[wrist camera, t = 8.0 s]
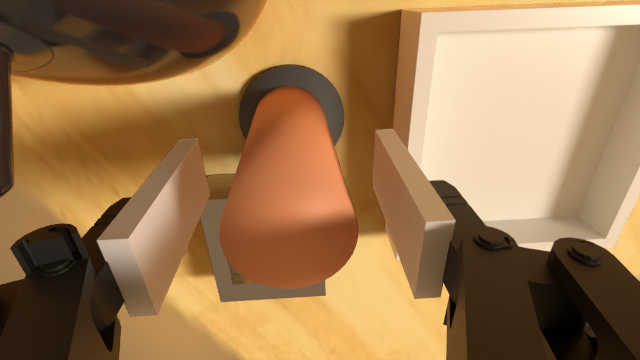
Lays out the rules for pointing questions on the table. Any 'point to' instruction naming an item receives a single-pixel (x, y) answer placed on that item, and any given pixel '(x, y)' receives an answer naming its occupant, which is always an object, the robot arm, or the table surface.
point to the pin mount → (226, 275)
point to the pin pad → (299, 78)
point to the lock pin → (288, 197)
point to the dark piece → (110, 45)
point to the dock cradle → (527, 113)
